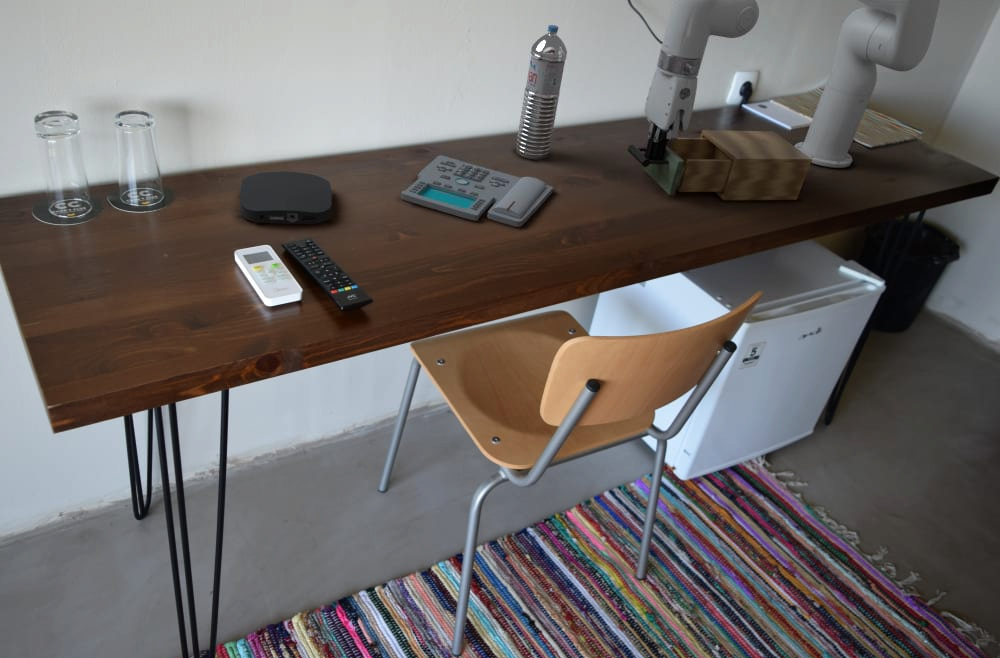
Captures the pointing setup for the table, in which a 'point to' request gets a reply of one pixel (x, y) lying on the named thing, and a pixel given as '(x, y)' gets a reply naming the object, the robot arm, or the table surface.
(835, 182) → the table surface
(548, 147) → the water bottle
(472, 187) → the office telephone
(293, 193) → the media streaming box
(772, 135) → the wood-grain box
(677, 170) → the drawer
